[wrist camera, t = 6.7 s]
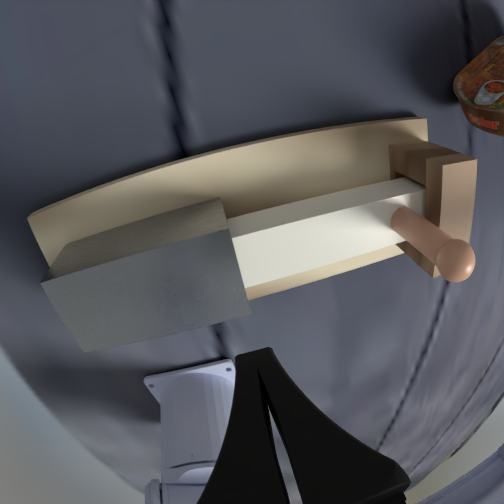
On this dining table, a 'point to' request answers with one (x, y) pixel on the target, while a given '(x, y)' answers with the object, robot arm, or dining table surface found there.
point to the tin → (484, 89)
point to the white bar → (343, 232)
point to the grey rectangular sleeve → (148, 278)
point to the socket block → (437, 189)
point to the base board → (240, 187)
